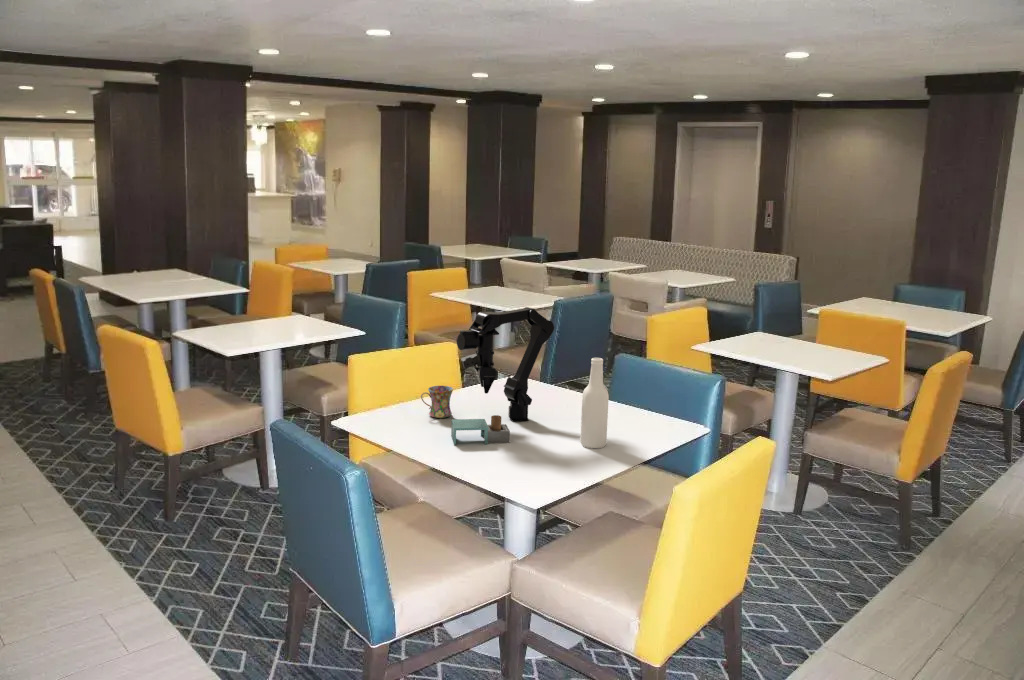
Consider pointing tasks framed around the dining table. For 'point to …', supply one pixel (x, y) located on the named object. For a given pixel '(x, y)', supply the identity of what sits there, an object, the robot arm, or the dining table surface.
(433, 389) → the mug
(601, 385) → the alcohol
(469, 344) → the robot arm
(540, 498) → the dining table surface
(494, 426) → the peg
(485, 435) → the station
